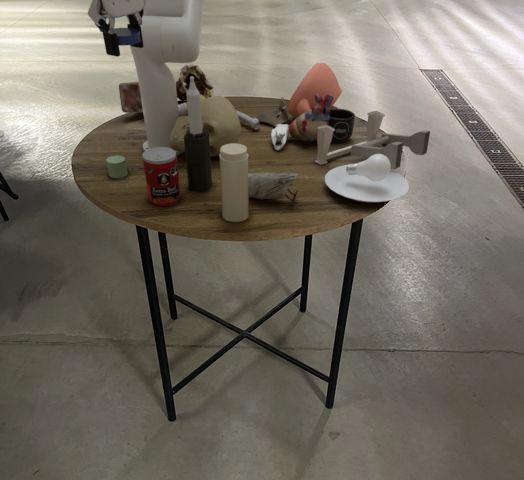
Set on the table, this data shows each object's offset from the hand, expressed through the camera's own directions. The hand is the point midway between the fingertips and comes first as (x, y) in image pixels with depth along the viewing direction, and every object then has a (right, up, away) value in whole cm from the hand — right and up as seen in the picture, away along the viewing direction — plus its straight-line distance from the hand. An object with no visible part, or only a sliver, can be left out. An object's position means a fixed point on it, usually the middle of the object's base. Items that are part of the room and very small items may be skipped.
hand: (125, 50), depth 101 cm
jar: (+23, -32, +10) cm, 40 cm away
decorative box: (-11, +19, +57) cm, 61 cm away
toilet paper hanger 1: (+52, -3, +34) cm, 62 cm away
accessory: (+42, 0, +42) cm, 59 cm away
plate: (+55, -23, +20) cm, 63 cm away
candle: (+13, -22, +20) cm, 33 cm away
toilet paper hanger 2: (+64, -4, +29) cm, 71 cm away
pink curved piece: (+41, +19, +47) cm, 65 cm away
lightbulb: (+50, -17, +20) cm, 57 cm away
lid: (0, +2, -2) cm, 3 cm away
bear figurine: (+8, +26, +59) cm, 65 cm away
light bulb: (+1, +14, +53) cm, 55 cm away
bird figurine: (+33, -3, +34) cm, 48 cm away
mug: (+51, +1, +45) cm, 68 cm away
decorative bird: (+29, -27, +16) cm, 43 cm away
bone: (+23, +12, +51) cm, 57 cm away
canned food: (+5, -27, +15) cm, 31 cm away
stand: (-9, -17, +24) cm, 31 cm away
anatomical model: (+41, -1, +42) cm, 59 cm away
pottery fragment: (+29, +10, +55) cm, 63 cm away
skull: (+3, -3, +29) cm, 29 cm away
